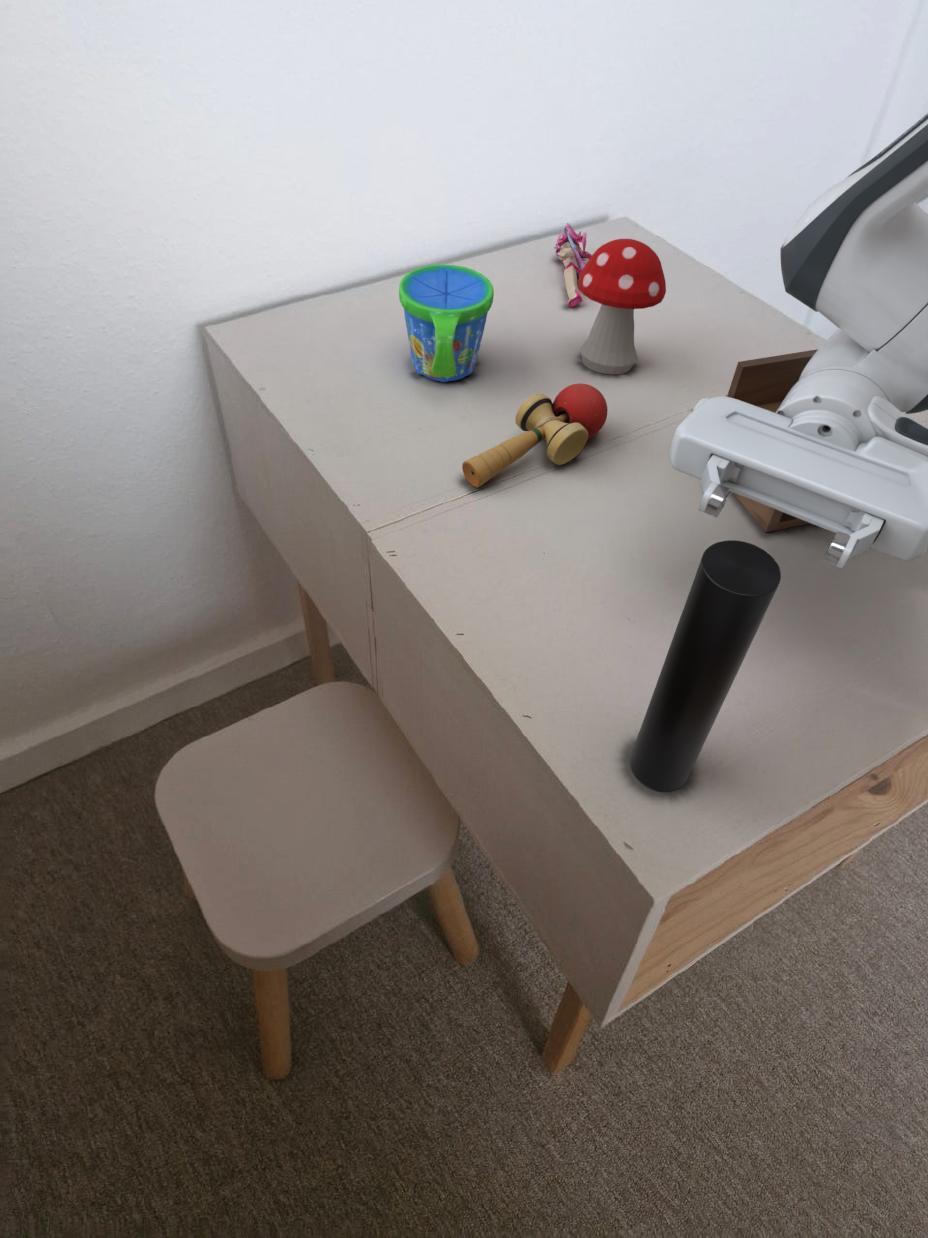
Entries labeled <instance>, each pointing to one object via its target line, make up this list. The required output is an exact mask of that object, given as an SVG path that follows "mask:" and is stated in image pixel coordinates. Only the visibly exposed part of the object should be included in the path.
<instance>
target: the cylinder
mask: <svg viewBox="0 0 928 1238" xmlns="http://www.w3.org/2000/svg"><path fill="white" fill-rule="evenodd" d="M781 579H782V572H781V568H780V565H779V563H778V562H777V560H776V559H775V558H774V557H773V556H772V555H771V554H770V553H769V552H767V550H765V549H763V548H761V547H759V546H758V545H756V544H753V543H751V542H747V541H742V540H734V539H733V540H731V539H730V540H729V539H728V540H721V541H718V542H715V543H713V544H711V545H710V546H708V547H707V548H706V549H705V550H704V551H703V554H702V556H701V558H700V561H699V564H698V567H697V569H696V572H695V576H694V578H693V581H692V585H691V586H690V589H689V592H688V595H687V598H686V600H685V603H684V606H683V608H682V611H681V614H680V617H679V620H678V622H677V625H676V628H675V631H674V634H673V637H672V640H671V642H670V645H669V648H668V650H667V654H666V656H665V659H664V662H663V665H662V666H661V667H662V668H661V671H660V674H659V676H658V678H657V682H656V684H655V687H654V689H653V693H652V695H651V698H650V701H649V703H648V706H647V709H646V712H645V715H644V717H643V720H642V723H641V727H640V729H639V732H638V735H637V737H636V740H635V743H634V746H633V749H632V751H631V754H630V759H629V765H630V769H631V771H632V773H633V775H634V776H635V778H636V779H637V780H638V782H639V783H641V784H642V785H644V786H645V787H646V788H649V789H651V790H654V791H658V792H672V791H675V790H677V789H680V788H681V787H682V786H684V785H685V784H686V782H687V781H688V779H689V777H690V775H691V773H692V771H693V768H694V767H695V764H696V762H697V760H698V758H699V756H700V754H701V751H702V749H703V747H704V745H705V743H706V741H707V738H708V737H709V734H710V733H711V730H712V729H713V726H714V724H715V722H716V719H717V718H718V715H719V713H720V711H721V708H722V707H723V704H724V702H725V700H726V698H727V696H728V694H729V692H730V690H731V688H732V686H733V683H734V681H735V679H736V677H737V675H738V673H739V672H740V671H739V670H740V668H741V667H742V664H743V662H744V660H745V658H746V656H747V653H748V652H749V650H750V647H751V645H752V643H753V641H754V639H755V637H756V634H757V632H758V630H759V628H760V626H761V624H762V621H763V619H764V618H765V616H766V613H767V611H768V609H769V607H770V605H771V602H772V600H773V598H774V596H775V594H776V592H777V590H778V588H779V586H780V583H781Z"/></svg>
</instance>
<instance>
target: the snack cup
mask: <svg viewBox="0 0 928 1238" xmlns="http://www.w3.org/2000/svg"><path fill="white" fill-rule="evenodd" d="M494 293H495V292H494V286H493V284H492V282H491V280H489V278H487V277H486V275H484V274H482V273H481V272H479V271H476V270H474V269H472V268H469V267H466V266H461V265H455V264H430V265H429V264H428V265H425V266H420V267H417V268H415V269H413V270H410V271H409V272H407V273H406V274H405V275H404V276H403V277H402V278H401V280H400V282H399V285H398V299H399V303H400V305H401V307H402V309H403V312H404V321H405V327H406V333H407V340H408V346H409V353H410V355H411V360H412V361H411V362H412V364H413V367H414V369H415V371H416V373H417V375H422V376H424V377H426V378H428V379H430V380H433V381H439V382H440V383H448V382H454V381H458V380H461V379H464V378H465V377H467V376H470V375H471V374H472V373H473V371H474V369H475V366H476V364H477V361H478V356H479V353H480V348H481V342H482V340H483V336H484V331H485V326H486V324H487V323H486V322H487V317H488V314H489V311H490V309H491V308H492V305H493V302H494Z"/></svg>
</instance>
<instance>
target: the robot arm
mask: <svg viewBox="0 0 928 1238" xmlns="http://www.w3.org/2000/svg"><path fill="white" fill-rule="evenodd" d="M926 195H928V113H926V114H925V115H924V116H922V117H921V118H920V119H919V120H917V122H915V123H914V124H913V125H911V126H910V127H909V128H908V129H906V131H904V132H903V133H902V134H900V135H899V136H898V137H897V138H896V139H895V140H893V141H892V142H891V143H890V144H888V145H887V146H886V147H885V148H884V149H882V150H881V151H880V152H879V153H877V154H876V155H875V156H873V157H872V158H871V159H870V160H868V161H867V162H866V163H864V164H862V165H861V166H860V167H858V168H857V169H856V170H854V171H853V172H851V173H850V174H849V175H848V176H847V177H845V178H843V179H842V180H840V181H838V182H836V183H835V184H833V185H832V186H830V187H829V188H827V189H826V190H824V191H823V192H822V193H820V194H819V195H818V196H817V197H816V198H815V199H814V200H813V201H811V203H810V204H808V206H806V208H805V209H804V210H803V211H802V212H801V213H800V215H799V216H798V217H797V219H796V220H795V222H793V224H792V225H791V228H790V229H789V231H788V233H787V234H786V237H785V239H784V242H783V244H782V245H781V247H780V254H779V255H780V267H781V269H780V270H781V277H782V283H783V286H784V291H785V293H787V294H788V295H790V296H791V297H793V298H794V299H796V300H797V301H799V302H800V303H802V304H803V305H805V306H807V307H808V308H810V309H811V310H812V311H813V312H816V313H817V312H818V313H820V314H821V315H822V316H823V317H825V318H826V319H827V320H828V321H829V322H831V323H832V324H833V325H834V326H836V328H838V329H837V330H836V331H835V332H833V333H832V334H831V336H829V337H828V338H827V339H826V340H825V341H824V342H823V344H821V346H820V347H818V350H817V352H816V353H815V354H814V355H813V357H812V358H811V359H810V361H809V362H808V364H807V365H806V367H805V368H804V370H803V372H802V373H801V376H800V378H799V381H798V382H797V383H796V384H795V385H794V386H793V387H792V388H791V390H790V391H789V393H788V394H787V396H786V397H785V399H784V400H783V402H782V403H781V405H780V406H779V408H778V409H777V411H776V413H774V412H771V411H768V410H766V409H763V408H760V407H757V406H754V405H752V404H749V403H746V402H743V401H740V400H738V399H734V398H730V397H727V396H725V395H723V396H722V395H721V396H714V397H711V398H709V397H702V398H701V399H700V400H699V401H697V403H696V404H695V406H694V407H693V408H692V410H691V411H690V413H689V414H687V416H686V417H685V418H684V419H683V420H682V421H681V422H680V423H679V424H678V426H677V427H676V429H675V430H674V431H675V432H674V434H673V438H672V441H671V444H670V447H669V451H668V461H669V462H670V465H671V467H672V468H673V470H675V471H678V472H680V473H682V474H685V475H688V476H691V477H693V478H696V479H698V480H701V481H700V487H701V492H702V495H703V496H702V498H701V501H700V504H699V507H698V511H700V512H702V513H704V514H707V515H709V516H712V517H714V518H718V517H719V515H720V513H721V512H722V510H723V509H724V508H725V505H726V502H727V498H728V496H729V494H730V493H733V494H734V493H736V494H738V495H741V496H743V497H746V498H748V499H751V500H753V501H756V502H758V503H761V504H763V505H766V506H769V507H771V508H774V509H776V510H779V511H781V512H784V513H786V514H789V515H791V516H794V517H796V518H799V519H801V520H804V521H806V522H809V523H808V524H811V525H814V526H815V527H816V526H817V527H819V528H822V529H824V530H827V531H829V532H832V533H834V534H835V535H834V537H833V538H832V541H831V543H830V545H829V547H828V549H827V551H826V553H825V555H824V557H823V559H822V562H824V563H827V564H830V565H832V566H834V567H837V568H838V569H841V570H843V569H844V568H845V565H846V563H847V562H848V560H849V558H853V557H855V556H857V555H860V554H863V553H867V552H868V551H870V548H872V549H875V550H876V551H880V552H882V553H885V554H888V555H890V556H892V557H895V558H897V559H899V560H901V561H912V560H915V559H919V558H921V557H922V556H923V555H924V554H925V552H926V551H927V549H928V428H927V427H926V426H924V425H922V424H920V423H919V422H917V421H915V419H912V418H911V417H909V416H908V415H912V414H918V413H922V412H925V411H928V213H927V212H925V210H923V209H922V208H921V207H920V205H918V203H917V202H918V201H919V200H921V199H922V198H924V197H925V196H926Z"/></svg>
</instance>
